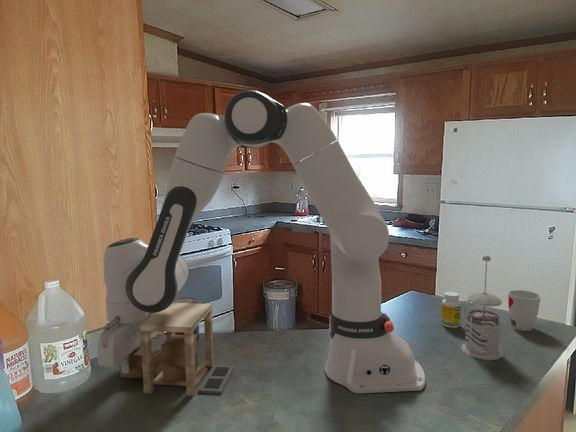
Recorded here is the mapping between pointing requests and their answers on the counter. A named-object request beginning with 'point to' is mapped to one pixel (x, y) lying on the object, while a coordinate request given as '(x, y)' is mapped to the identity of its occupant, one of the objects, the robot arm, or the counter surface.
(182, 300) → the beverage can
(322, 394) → the counter surface
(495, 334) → the french press
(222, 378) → the pit board
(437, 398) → the counter surface
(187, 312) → the small wooden table
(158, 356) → the wooden step block
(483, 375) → the counter surface
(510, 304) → the cup
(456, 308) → the supplement bottle
